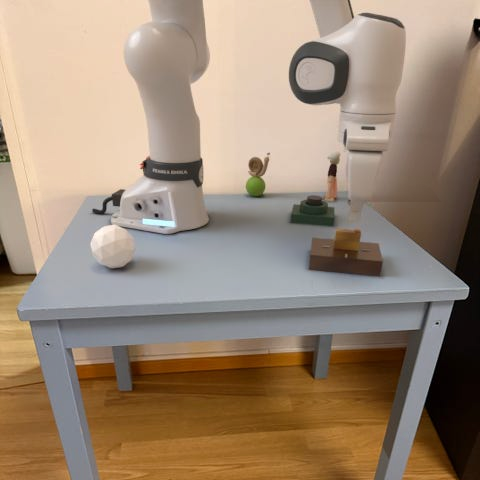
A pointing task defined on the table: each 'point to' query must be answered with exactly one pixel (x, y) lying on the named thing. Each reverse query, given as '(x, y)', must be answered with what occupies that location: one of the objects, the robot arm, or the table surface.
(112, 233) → the geometric ball
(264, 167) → the snail figurine
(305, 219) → the block
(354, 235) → the lock turn
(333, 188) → the grandmother figurine
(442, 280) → the table surface
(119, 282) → the table surface
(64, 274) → the table surface
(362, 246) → the plate
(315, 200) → the bell button
